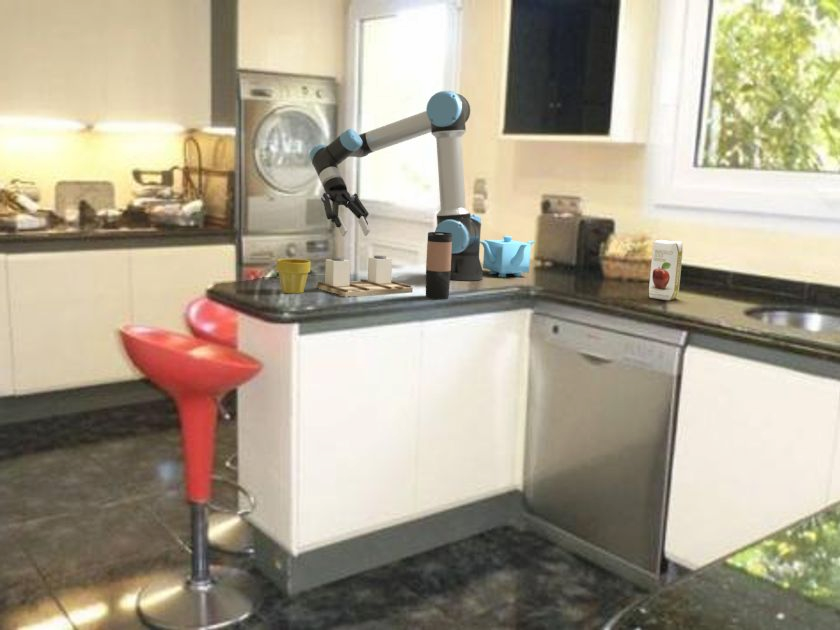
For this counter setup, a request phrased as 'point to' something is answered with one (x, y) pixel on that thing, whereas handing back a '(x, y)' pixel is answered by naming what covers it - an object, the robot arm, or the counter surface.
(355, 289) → the wooden tray
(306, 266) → the plant pot
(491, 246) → the teakettle
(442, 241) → the travel mug
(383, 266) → the button
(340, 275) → the button
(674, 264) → the juice carton
